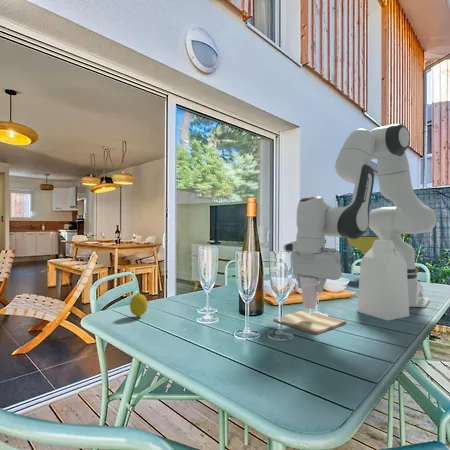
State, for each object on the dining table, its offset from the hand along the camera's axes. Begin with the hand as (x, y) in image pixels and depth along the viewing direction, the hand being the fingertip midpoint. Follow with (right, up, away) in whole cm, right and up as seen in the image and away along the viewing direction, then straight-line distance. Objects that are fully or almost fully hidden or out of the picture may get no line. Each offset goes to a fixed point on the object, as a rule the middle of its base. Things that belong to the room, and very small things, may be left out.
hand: (309, 289), depth 98 cm
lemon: (-56, -10, +4) cm, 57 cm away
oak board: (0, -10, 0) cm, 10 cm away
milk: (+29, -11, +11) cm, 32 cm away
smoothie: (0, -6, 0) cm, 6 cm away
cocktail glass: (+52, -11, +76) cm, 92 cm away
